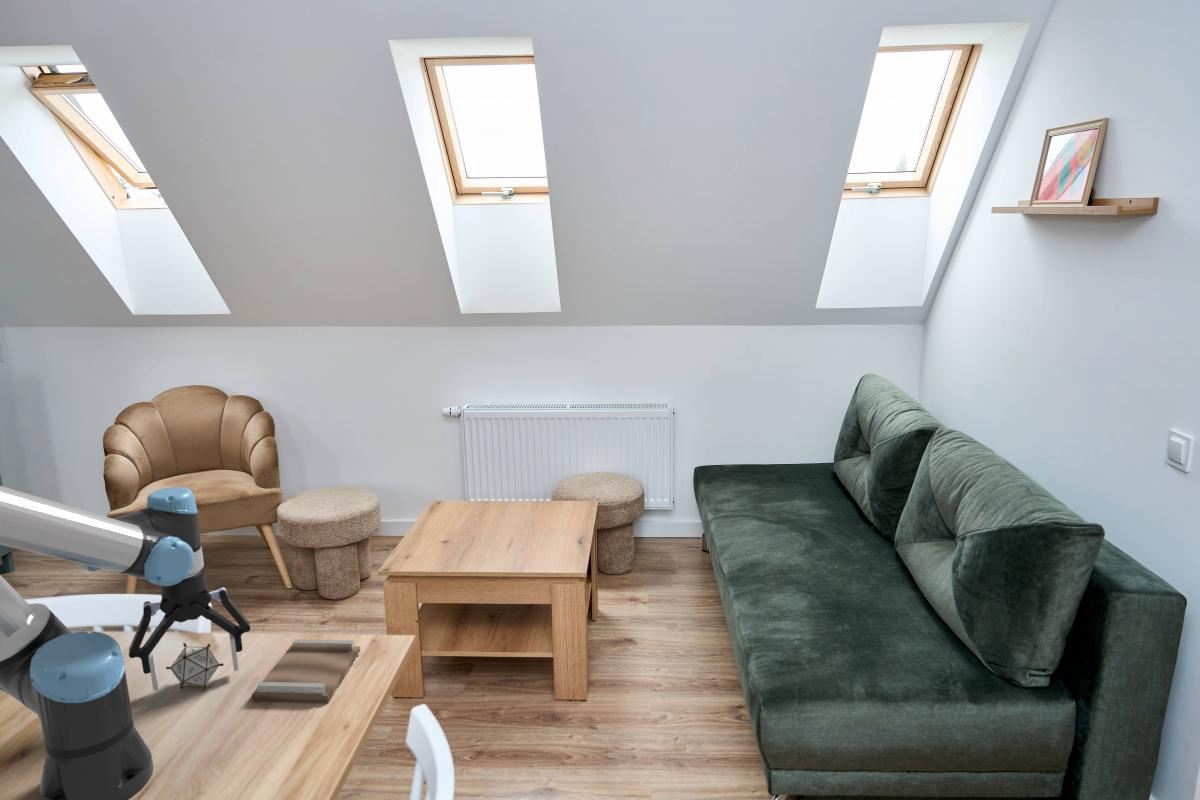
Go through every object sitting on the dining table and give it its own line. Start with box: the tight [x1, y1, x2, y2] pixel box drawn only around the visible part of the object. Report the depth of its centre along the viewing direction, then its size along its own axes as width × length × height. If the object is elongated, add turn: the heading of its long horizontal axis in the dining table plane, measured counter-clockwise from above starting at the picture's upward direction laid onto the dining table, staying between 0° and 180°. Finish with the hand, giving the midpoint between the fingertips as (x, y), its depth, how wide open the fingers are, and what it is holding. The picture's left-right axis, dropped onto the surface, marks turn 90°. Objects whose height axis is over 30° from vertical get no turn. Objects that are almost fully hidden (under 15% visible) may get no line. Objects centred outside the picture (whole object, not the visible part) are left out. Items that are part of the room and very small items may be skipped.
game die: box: [165, 642, 225, 691], centre depth 157 cm, size 9×8×10 cm
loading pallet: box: [251, 639, 361, 704], centre depth 160 cm, size 17×14×3 cm
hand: (196, 677), depth 158 cm, fingers open, 13 cm apart
